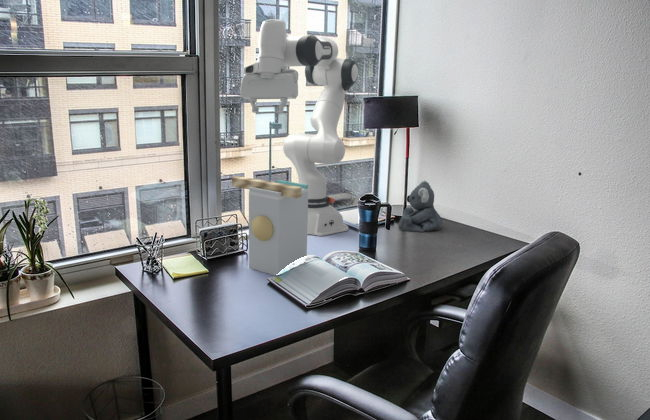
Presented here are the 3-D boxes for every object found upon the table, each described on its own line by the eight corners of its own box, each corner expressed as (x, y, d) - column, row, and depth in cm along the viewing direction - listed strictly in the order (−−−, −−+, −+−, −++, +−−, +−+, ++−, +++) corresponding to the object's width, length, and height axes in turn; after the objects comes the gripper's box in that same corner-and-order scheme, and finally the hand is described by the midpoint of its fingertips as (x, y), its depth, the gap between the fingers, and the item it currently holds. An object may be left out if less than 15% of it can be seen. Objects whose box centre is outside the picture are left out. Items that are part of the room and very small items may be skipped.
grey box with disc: (247, 268, 177) (246, 188, 170) (278, 254, 191) (279, 179, 184) (276, 277, 171) (276, 193, 164) (306, 262, 185) (308, 184, 178)
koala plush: (402, 220, 240) (405, 177, 235) (443, 224, 236) (447, 180, 231) (397, 231, 224) (400, 185, 219) (441, 235, 220) (445, 188, 215)
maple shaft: (231, 186, 178) (231, 177, 177) (237, 184, 180) (237, 175, 179) (295, 198, 164) (296, 188, 164) (301, 196, 167) (301, 187, 166)
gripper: (303, 71, 173) (300, 114, 173) (250, 73, 182) (247, 114, 182) (293, 66, 167) (290, 110, 168) (239, 68, 176) (236, 110, 176)
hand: (267, 112), depth 175 cm, fingers open, 8 cm apart
